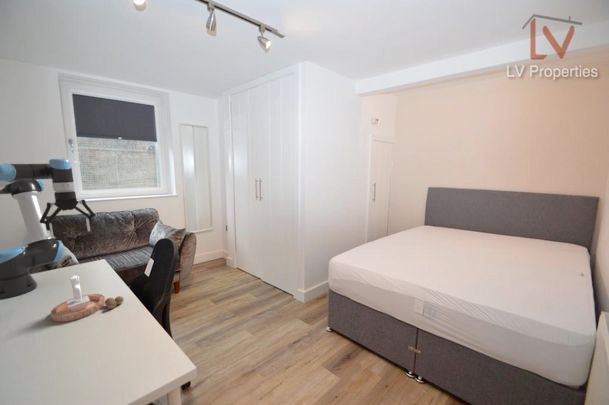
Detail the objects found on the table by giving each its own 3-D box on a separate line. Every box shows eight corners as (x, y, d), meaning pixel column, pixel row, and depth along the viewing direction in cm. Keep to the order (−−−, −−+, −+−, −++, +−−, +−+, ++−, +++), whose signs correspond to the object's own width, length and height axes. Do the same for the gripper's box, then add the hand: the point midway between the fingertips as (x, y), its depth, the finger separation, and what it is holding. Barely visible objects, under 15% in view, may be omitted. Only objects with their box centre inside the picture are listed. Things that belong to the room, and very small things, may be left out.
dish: (49, 311, 116) (48, 305, 115) (100, 295, 129) (100, 290, 129) (54, 328, 103) (52, 321, 103) (110, 308, 117) (109, 302, 117)
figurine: (69, 315, 110) (64, 283, 108) (67, 307, 117) (62, 276, 115) (91, 308, 116) (86, 277, 113) (88, 301, 122) (83, 271, 120)
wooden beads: (104, 305, 120) (103, 298, 119) (121, 299, 125) (120, 292, 124) (108, 311, 115) (107, 303, 114) (126, 304, 120) (125, 297, 119)
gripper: (27, 194, 112) (35, 240, 115) (98, 189, 131) (104, 229, 134) (26, 193, 117) (34, 238, 120) (95, 188, 136) (101, 227, 139)
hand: (71, 233), depth 127 cm, fingers open, 13 cm apart
